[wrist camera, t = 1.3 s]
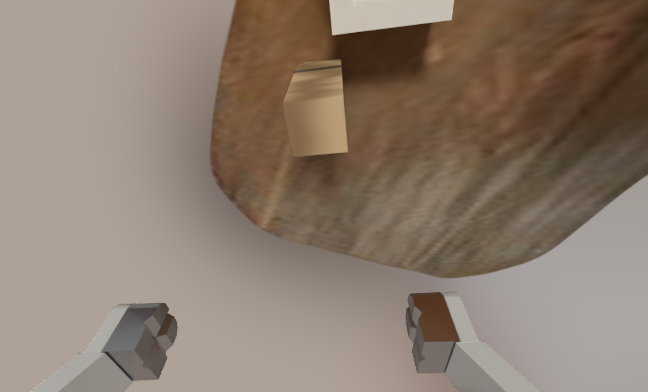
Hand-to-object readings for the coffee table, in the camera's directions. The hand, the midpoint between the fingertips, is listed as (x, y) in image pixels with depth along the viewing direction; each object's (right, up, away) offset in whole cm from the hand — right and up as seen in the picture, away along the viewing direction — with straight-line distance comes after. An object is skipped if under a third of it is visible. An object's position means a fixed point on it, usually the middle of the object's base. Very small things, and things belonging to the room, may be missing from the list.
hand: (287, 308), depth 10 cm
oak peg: (+1, +16, +20) cm, 26 cm away
